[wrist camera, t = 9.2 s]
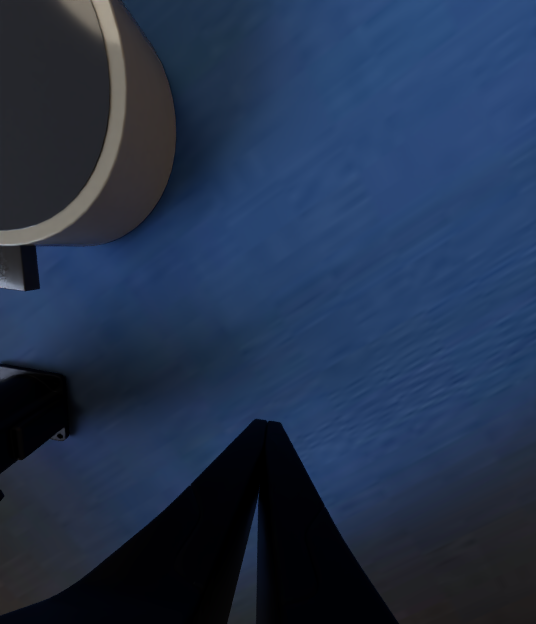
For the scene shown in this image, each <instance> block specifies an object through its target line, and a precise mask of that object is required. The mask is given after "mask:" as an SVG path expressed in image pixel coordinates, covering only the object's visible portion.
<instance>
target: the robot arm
mask: <svg viewBox="0 0 536 624" xmlns="http://www.w3.org/2000/svg"><path fill="white" fill-rule="evenodd" d="M68 437H69V422H68V408H67V393H66V379H65V377H64V375H62V374H60V373H54V372H48V371H42V370H36V369H30V368H24V367H18V366H12V365H6V364H0V474H1V473H2V472H3V471H4V470H6V469H7V468H8V467H10V466H11V465H12V464H14V463H15V462H16V461H17V460H23V459H25V458H26V457H27V456H28V455H30V454H31V453H32V452H33V451H35V450H36V449H37V448H39V447H40V446H41V445H42V444H44V443H45V442H46V441H48V440H49V439H52V440H58V441H64V440H65V439H67V438H68ZM259 487H260V488H259ZM258 494H259V498H258ZM3 497H4V494H3V492H2V491H1V490H0V501H1V500H2V499H3ZM257 500H258V542H257V603H256V624H399V623H398V622H397V620H396V619H395V617H394V616H393V614H392V613H391V611H390V610H389V608H388V607H387V605H386V604H385V602H384V601H383V599H382V598H381V596H380V595H379V593H378V592H377V590H376V589H375V587H374V586H373V584H372V583H371V581H370V580H369V578H368V577H367V575H366V574H365V572H364V571H363V569H362V568H361V566H360V565H359V563H358V562H357V560H356V558H355V557H354V555H353V554H352V552H351V551H350V549H349V548H348V546H347V544H346V543H345V541H344V539H343V538H342V536H341V534H340V532H339V531H338V529H337V527H336V525H335V524H334V522H333V520H332V518H331V516H330V514H329V512H328V511H327V509H326V508H325V506H324V503H323V501H322V500H321V498H320V496H319V494H318V492H317V490H316V488H315V486H314V484H313V483H312V481H311V479H310V477H309V475H308V473H307V471H306V469H305V468H304V466H303V464H302V462H301V460H300V458H299V456H298V454H297V452H296V451H295V449H294V447H293V445H292V443H291V441H290V439H289V437H288V436H287V434H286V432H285V430H284V428H283V426H282V424H281V423H280V422H275V421H268V423H267V421H266V420H261V419H254V420H253V421H252V422H251V423H250V424H249V425H248V427H247V428H246V429H245V430H244V431H243V432H242V433H241V434H240V435H239V436H238V437H237V438H236V439H235V440H234V441H233V442H232V443H231V444H230V445H229V446H228V447H227V448H226V449H225V450H224V451H223V452H222V453H221V454H220V455H219V456H218V457H217V458H216V459H215V460H214V461H213V462H212V463H211V464H210V465H209V466H208V467H207V468H206V469H205V470H204V471H203V472H202V473H201V474H200V475H199V476H198V477H197V478H196V479H195V480H194V481H193V482H192V483H191V486H188V487H187V488H186V489H185V490H184V491H183V492H182V493H181V494H180V495H179V496H178V497H177V498H176V499H175V500H174V501H173V502H172V503H171V504H170V505H169V506H168V507H167V508H166V509H165V510H164V511H163V512H161V513H160V514H159V515H158V516H157V517H156V518H155V519H153V520H152V521H151V522H150V523H149V524H148V525H146V526H145V527H144V528H143V529H142V530H140V531H139V532H138V533H137V534H136V535H134V536H133V537H132V538H131V539H130V540H128V541H127V542H126V543H125V544H124V545H122V546H121V547H120V548H119V549H117V550H116V551H115V552H114V553H113V554H111V555H110V556H109V557H108V558H107V559H105V560H104V561H103V562H102V563H100V564H99V565H98V566H97V567H96V568H94V569H93V570H92V571H91V572H89V573H88V574H87V575H86V576H84V577H83V578H82V579H80V580H79V581H78V582H76V583H75V584H73V585H72V586H70V587H69V588H67V589H65V590H64V591H62V592H60V593H59V594H57V595H55V596H53V597H51V598H49V599H46V600H44V601H41V602H38V603H35V604H32V605H30V606H27V607H24V608H21V609H18V610H15V611H12V612H9V613H7V614H4V615H1V616H0V624H227V622H228V618H229V614H230V610H231V606H232V601H233V597H234V593H235V589H236V585H237V581H238V577H239V573H240V569H241V565H242V561H243V557H244V553H245V549H246V545H247V541H248V537H249V533H250V529H251V525H252V521H253V517H254V513H255V509H256V504H257Z"/></svg>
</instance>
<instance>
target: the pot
mask: <svg viewBox="0 0 536 624" xmlns="http://www.w3.org/2000/svg"><path fill="white" fill-rule="evenodd" d="M175 145H176V117H175V110H174V104H173V98H172V94H171V90H170V86H169V82H168V79H167V77H166V74H165V71H164V69H163V66H162V64H161V61H160V59H159V57H158V55H157V54H156V52H155V50H154V48H153V46H152V44H151V43H150V41H149V40H148V38H147V37H146V35H145V34H144V32H143V31H142V29H141V28H140V26H139V25H138V23H137V22H136V21H135V19H134V18H133V16H132V15H131V13H130V12H129V10H128V9H127V8H126V6H125V5H124V3H123V2H122V0H0V288H5V289H13V290H20V291H30V290H36V289H40V283H39V273H38V264H37V254H36V246H74V247H85V246H95V245H100V244H104V243H108V242H111V241H113V240H116V239H118V238H120V237H122V236H124V235H125V234H127V233H129V232H130V231H132V230H133V229H134V228H136V227H137V226H138V225H139V224H140V223H141V222H143V221H144V219H145V218H146V217H147V216H148V215H149V214H150V213H151V211H152V210H153V209H154V207H155V206H156V204H157V202H158V201H159V199H160V198H161V196H162V194H163V191H164V189H165V187H166V185H167V182H168V179H169V176H170V173H171V170H172V165H173V160H174V155H175Z"/></svg>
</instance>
